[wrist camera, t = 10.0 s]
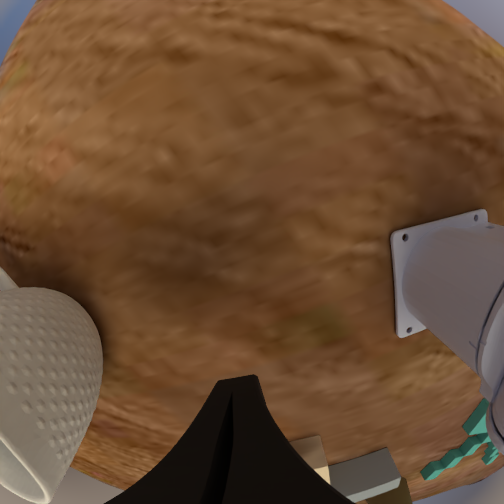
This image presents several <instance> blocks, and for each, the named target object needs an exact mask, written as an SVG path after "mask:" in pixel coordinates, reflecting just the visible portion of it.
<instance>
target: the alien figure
mask: <svg viewBox="0 0 504 504" xmlns="http://www.w3.org/2000/svg"><path fill="white" fill-rule="evenodd" d="M488 406H489V402H488V400H487V399H483V400H482V401H481V402H480V404H479V405H478V407H477V408H476V409H475V411H474V412H473V413H472V415H471V416H470V417H469V419H468V420H467V421H466V422H465V424H464V425H463V426H462V427H463V428H464V430H465V431H466V432H467V434H468V435H473V434H478V435H477V436H473V437H468V439H467V440H466V441H465V442H464V443H463V444H462V445H461V447H460V448H459V449H452V450H450V451H449V452H448V453H447V454H446V455H445V456H444V457H443V458H442V459H441V460H440V461H434V462H430V463H429V464H428V465H427V466H426V467H425V468H424V469H423V470H422V471H421V474H422V476H423V478H424V480H430V479H435V478H436V477H437V476H438V475H439V474H440V473H441V472H442V471H443V470H444V469H446V468H451V467H454V466H455V465H456V464H457V463H458V462H459V461H460V460H461V459H462V458H463V457H464V456H468V455H472V454H473V453H474V452H475V451H476V449H477V448H478V447H479V446H480V445H481V444H482V443H486V442H487V444H488V445H489V446H488V448H487V449H486V450H485V451H484V452H485V453H486V455H485V456H484V457H483V458H482V460H483V462H484V463H485V464H486V465H487V464H490V463H492V462H493V461H494V460H495V458H496V457H497V456H498V455H499V453H498V449H497V448H496V447H495V446H494V445H493V443H492V441H491V440H490V438H489V435H488V433H487V429H486V412H487V408H488Z"/></svg>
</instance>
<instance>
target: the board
mask: <svg viewBox="0 0 504 504" xmlns="http://www.w3.org/2000/svg"><path fill="white" fill-rule="evenodd" d="M328 469H329V477H330V485H331V486H332V487H334V488H335V489H336V490H337V491H339V492H340V493H341V494H343V495H344V496H345V497H347V498H348V499H350V500H351V501H352V502H354V503H355V502H358V501H361V500H364V499H367V498H370V497H373V496H376V495H379V494H381V493H384V492H387V491H389V490H392V489H394V488H397V487H398V486H399V483H400V480H401V476H400V474H399V471H398V469H397V467H396V465H395V463H394V461H393V459H392V457H391V455H390V452H389V450H388V448H384V449H382V450H379V451H376V452H373V453H370V454H368V455H365V456H362V457H358V458H355V459H352V460H349V461H345V462H342V463H339V464H335V465H331V466H328Z"/></svg>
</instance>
